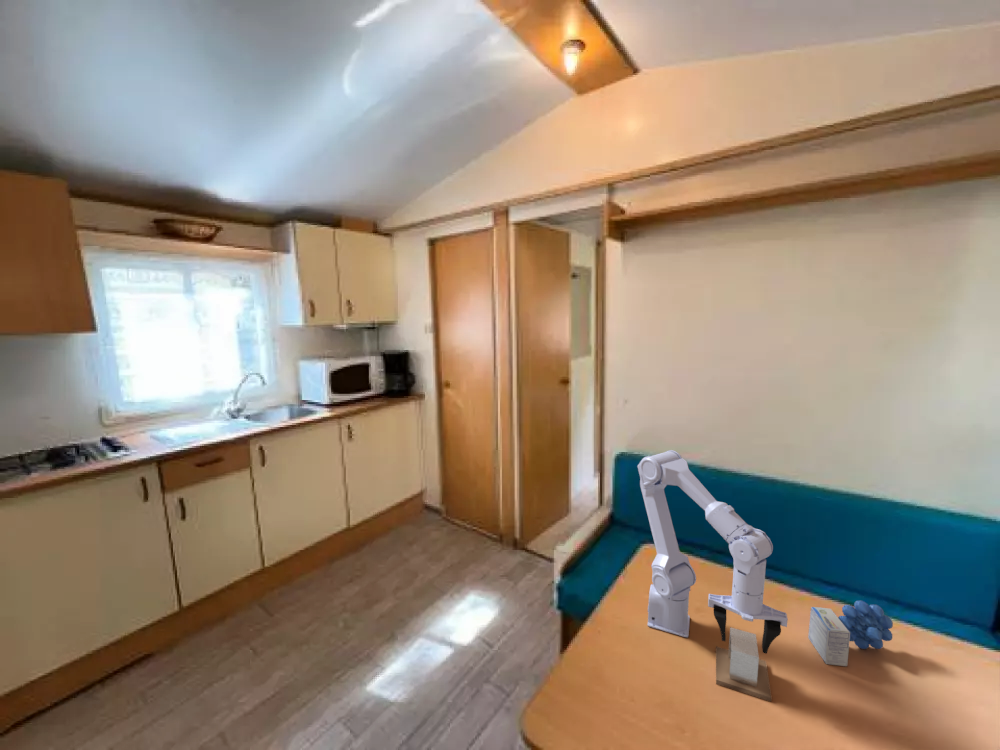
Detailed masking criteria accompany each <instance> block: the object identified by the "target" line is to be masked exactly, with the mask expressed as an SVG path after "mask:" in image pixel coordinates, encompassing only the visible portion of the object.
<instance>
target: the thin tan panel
mask: <svg viewBox="0 0 1000 750" xmlns="http://www.w3.org/2000/svg"><path fill="white" fill-rule="evenodd" d="M728 652H729V649H726V648H723V647H719V646H717V645H716V646H715V683H716V685H718V686H722V687H724V688H728V689H730V690H734V691H737V692H740V693H743V694H746V695H748V696H751V697H754V698H755V697H756V698H758V699H761V700H764V701H766V702H769V703H770V702H772V693H771V685H770V679H769V671H768V665H767V661H766V660H763V659H760V658H759V662H758V675H757V687H754V686H751V685H748V684H745V683H742V682H739V681H735V680H732V679H729V671H730V658H728Z"/></svg>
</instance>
